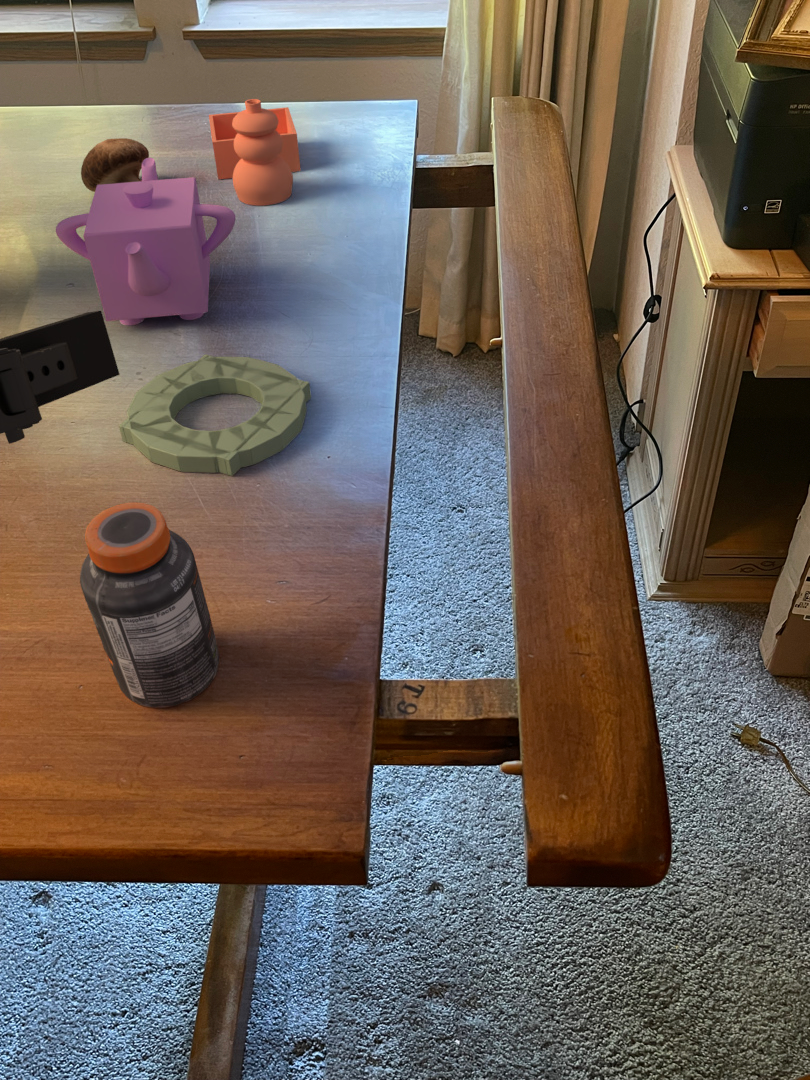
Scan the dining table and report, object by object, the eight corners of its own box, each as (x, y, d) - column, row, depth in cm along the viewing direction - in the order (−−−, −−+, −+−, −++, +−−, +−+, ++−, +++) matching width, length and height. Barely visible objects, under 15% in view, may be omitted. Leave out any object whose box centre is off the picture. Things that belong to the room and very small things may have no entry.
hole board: (95, 444, 72) (90, 428, 70) (200, 358, 80) (197, 342, 79) (242, 492, 67) (239, 475, 66) (336, 395, 75) (335, 379, 74)
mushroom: (163, 170, 102) (127, 117, 100) (102, 212, 102) (65, 159, 100) (167, 180, 110) (133, 131, 108) (110, 219, 110) (75, 170, 108)
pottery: (214, 150, 115) (200, 63, 108) (292, 143, 116) (282, 56, 110) (222, 211, 102) (207, 116, 95) (310, 202, 103) (300, 107, 97)
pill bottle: (135, 629, 57) (87, 484, 50) (231, 634, 57) (198, 488, 49) (103, 708, 53) (45, 563, 45) (206, 714, 53) (166, 569, 45)
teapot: (54, 304, 88) (18, 188, 80) (169, 253, 95) (146, 142, 88) (156, 360, 80) (127, 238, 73) (272, 300, 87) (257, 183, 80)
